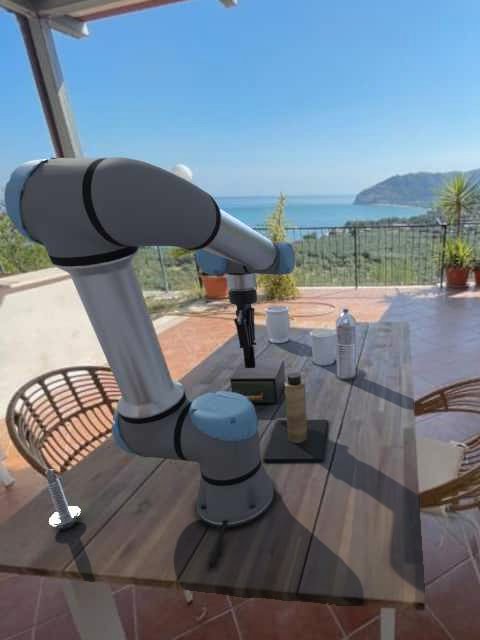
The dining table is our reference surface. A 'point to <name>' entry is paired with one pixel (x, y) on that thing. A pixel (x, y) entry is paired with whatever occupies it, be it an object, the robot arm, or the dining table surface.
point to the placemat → (302, 451)
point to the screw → (60, 504)
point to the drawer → (255, 390)
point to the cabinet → (263, 373)
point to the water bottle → (346, 346)
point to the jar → (277, 323)
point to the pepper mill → (296, 408)
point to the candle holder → (323, 346)
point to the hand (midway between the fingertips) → (250, 367)
